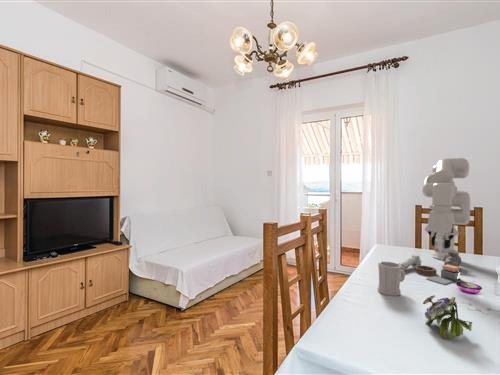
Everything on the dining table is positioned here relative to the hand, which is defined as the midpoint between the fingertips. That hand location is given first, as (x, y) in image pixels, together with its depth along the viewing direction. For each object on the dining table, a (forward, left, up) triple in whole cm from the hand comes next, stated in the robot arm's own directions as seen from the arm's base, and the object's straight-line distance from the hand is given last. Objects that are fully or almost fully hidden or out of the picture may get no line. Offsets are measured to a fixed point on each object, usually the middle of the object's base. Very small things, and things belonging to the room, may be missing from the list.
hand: (440, 246), depth 132 cm
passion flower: (+47, +25, -17) cm, 56 cm away
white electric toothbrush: (-6, -19, -17) cm, 26 cm away
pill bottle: (0, 0, -3) cm, 3 cm away
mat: (0, 0, -17) cm, 17 cm away
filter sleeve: (-6, -10, -17) cm, 20 cm away
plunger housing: (-8, +1, -17) cm, 19 cm away
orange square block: (-8, +1, -16) cm, 18 cm away
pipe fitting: (-26, -7, -17) cm, 32 cm away
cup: (+34, -3, -17) cm, 38 cm away
